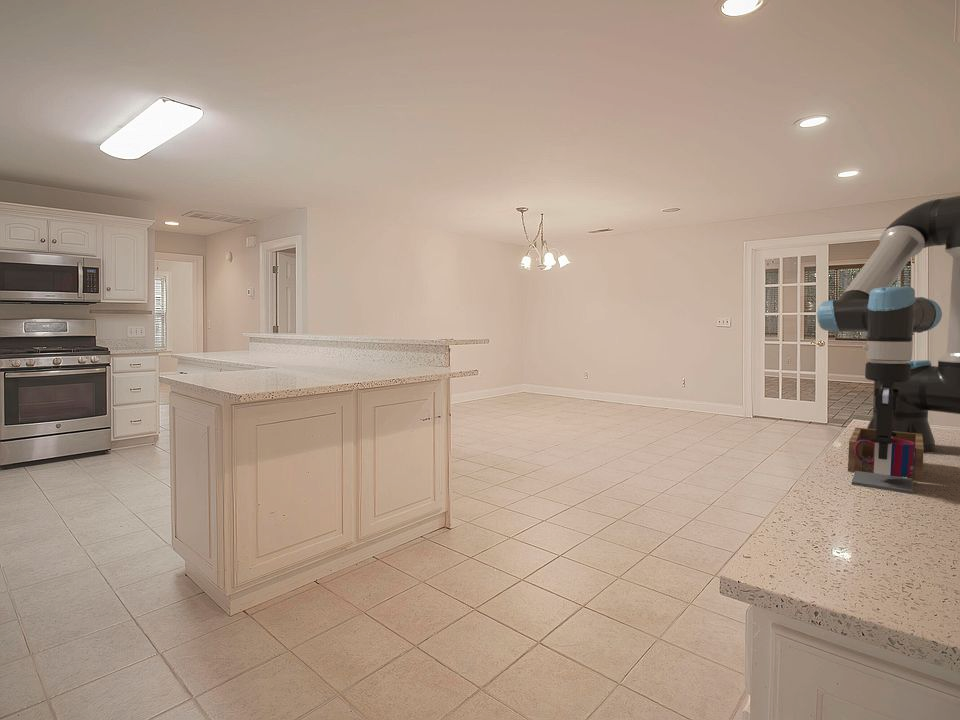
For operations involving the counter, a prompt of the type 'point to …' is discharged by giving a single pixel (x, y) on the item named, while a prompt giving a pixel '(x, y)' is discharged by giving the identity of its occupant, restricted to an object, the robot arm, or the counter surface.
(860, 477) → the slate mat
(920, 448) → the walnut box
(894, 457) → the mug
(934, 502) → the counter surface
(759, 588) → the counter surface
